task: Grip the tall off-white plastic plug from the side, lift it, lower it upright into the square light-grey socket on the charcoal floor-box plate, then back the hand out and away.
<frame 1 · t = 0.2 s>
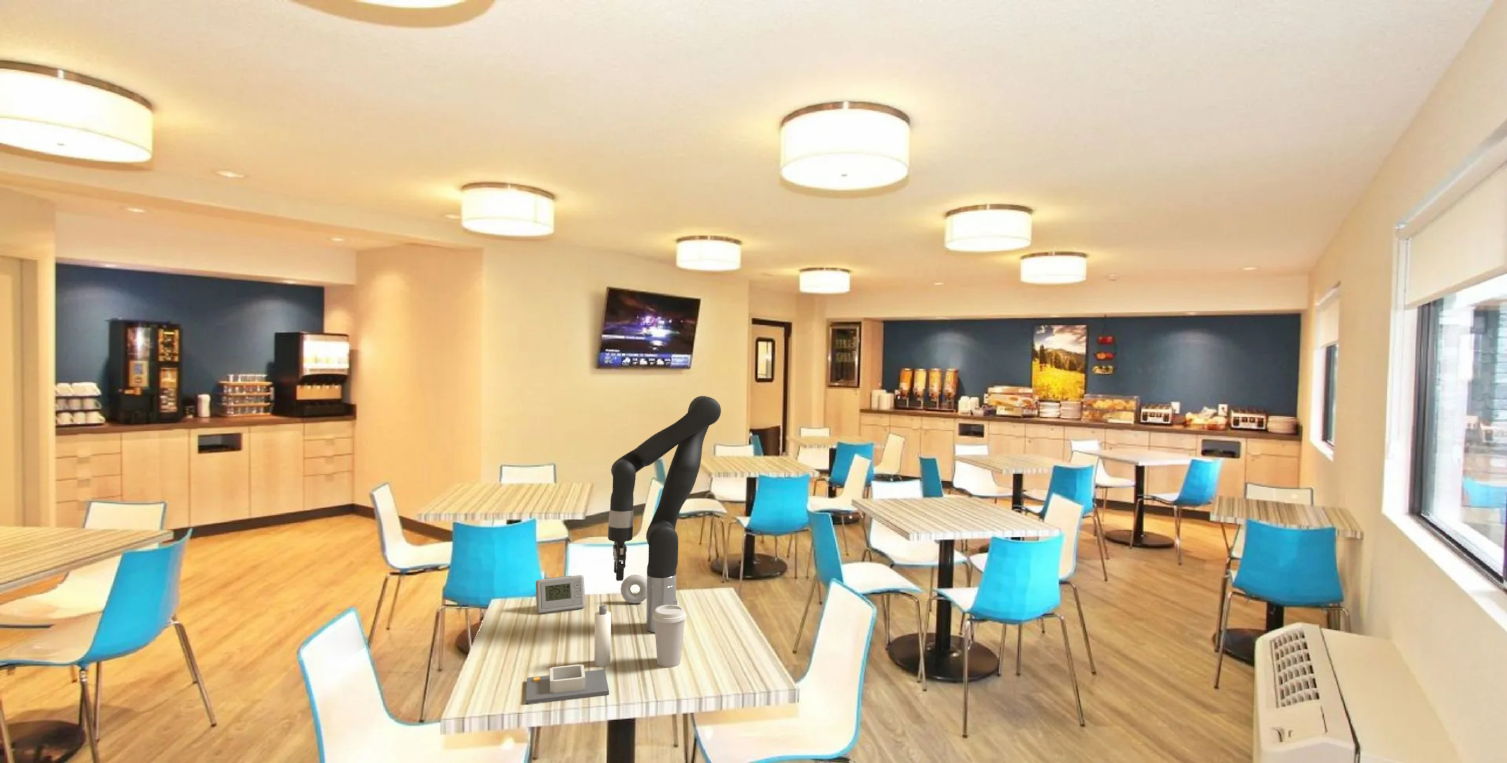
hand: (618, 576, 223), 18 cm above the table, tool pointing down, fingers open, 8 cm apart
donut: (635, 603, 251), on the table
digital thermostat: (560, 610, 244), on the table
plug: (602, 663, 201), on the table
floor socket: (567, 687, 186), on the table
coffee cup: (668, 662, 203), on the table
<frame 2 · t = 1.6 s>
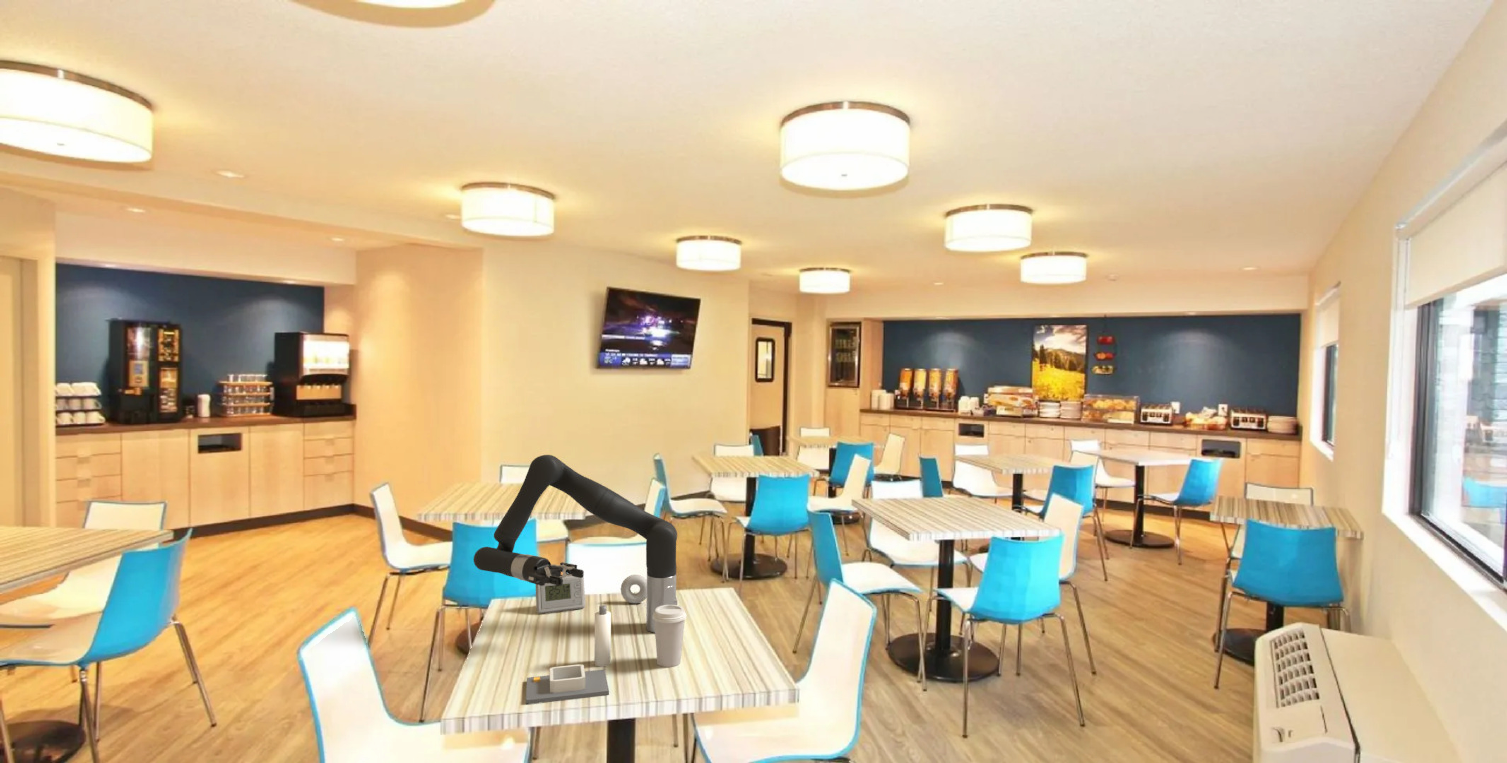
hand: (572, 577, 206), 22 cm above the table, tool horizontal, fingers open, 8 cm apart
nothing on the table moved.
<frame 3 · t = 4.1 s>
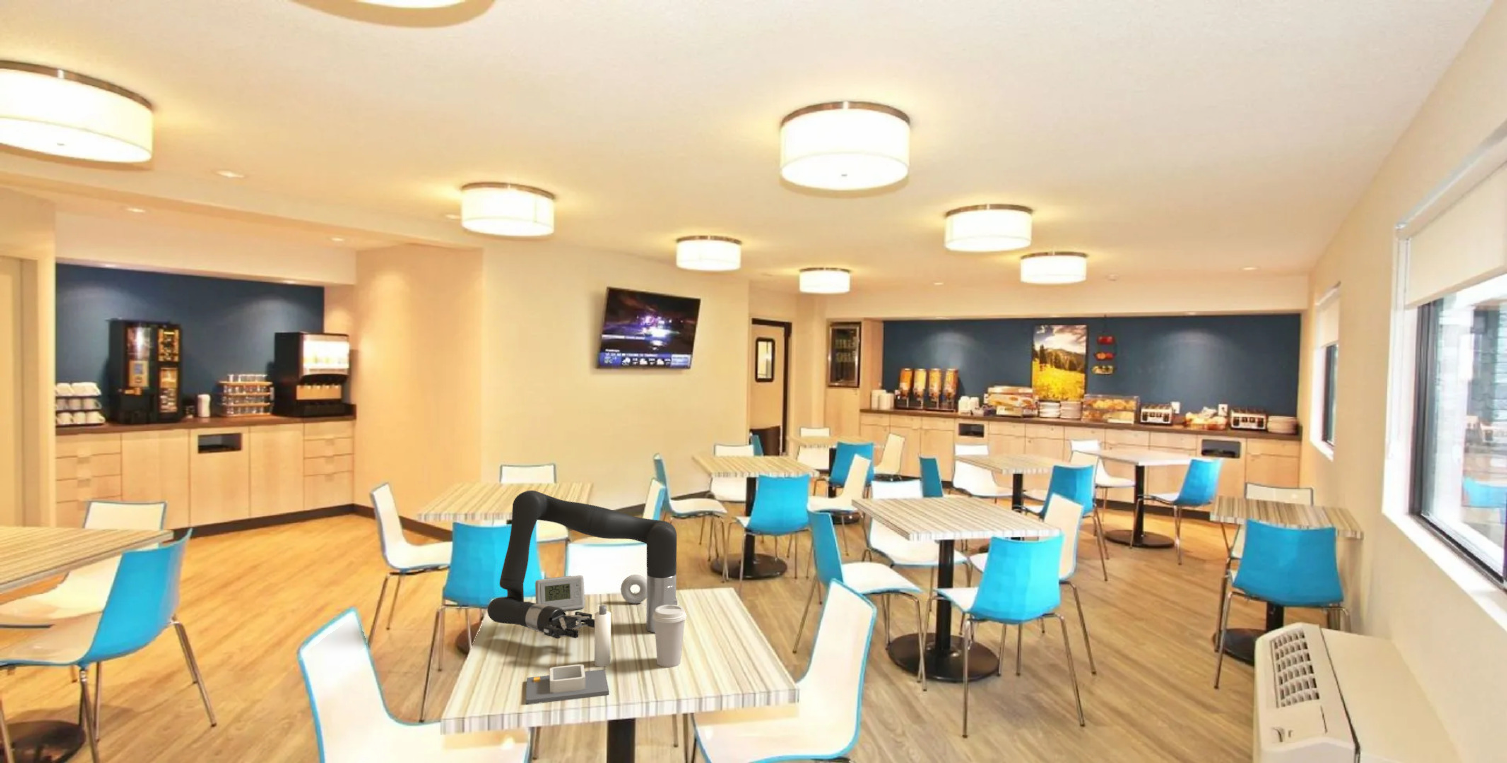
hand: (588, 629, 204), 9 cm above the table, tool horizontal, fingers open, 8 cm apart
nothing on the table moved.
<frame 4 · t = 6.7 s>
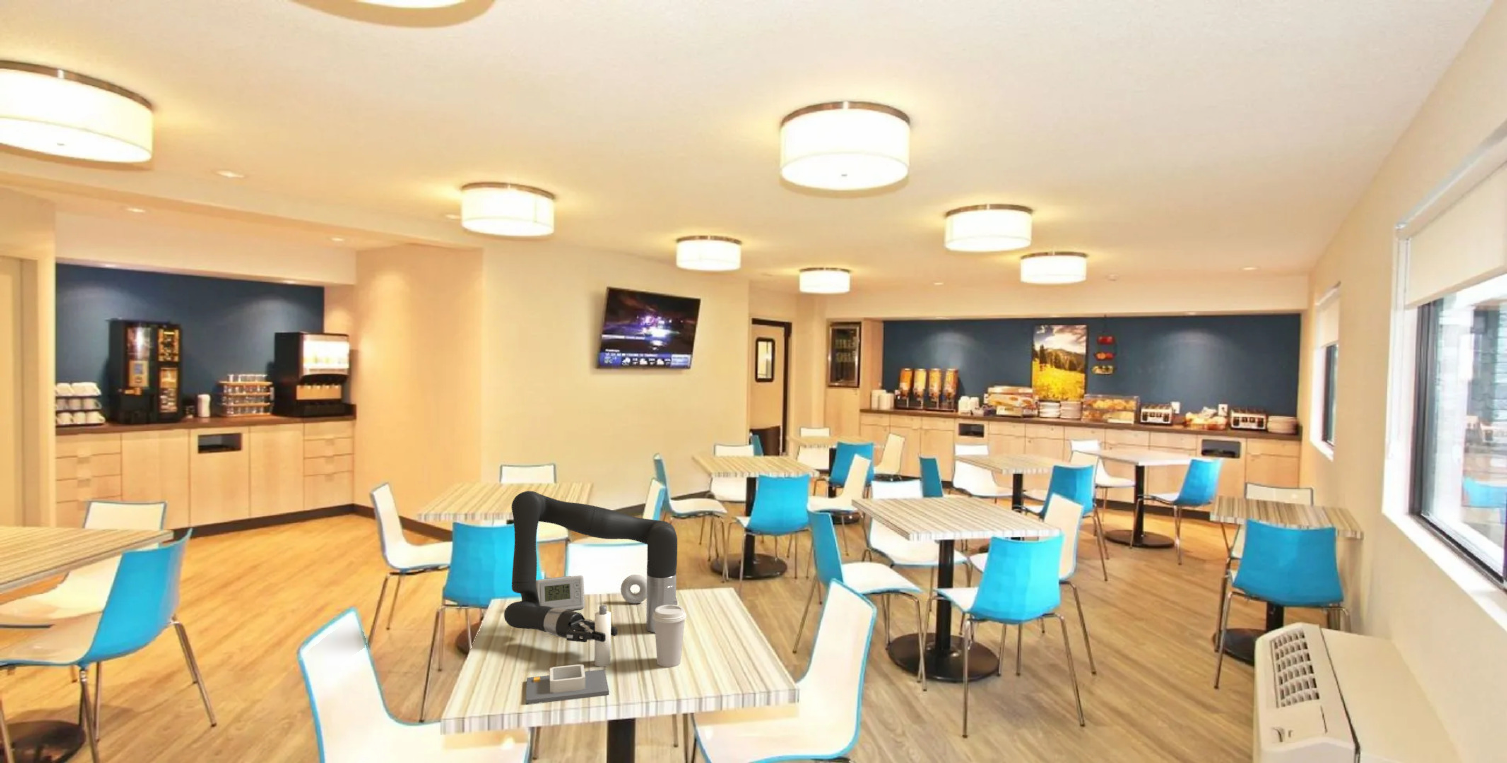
hand: (610, 634, 200), 9 cm above the table, tool horizontal, fingers closed on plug, 4 cm apart
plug: (602, 663, 202), on the table, touching gripper
everything else where it was.
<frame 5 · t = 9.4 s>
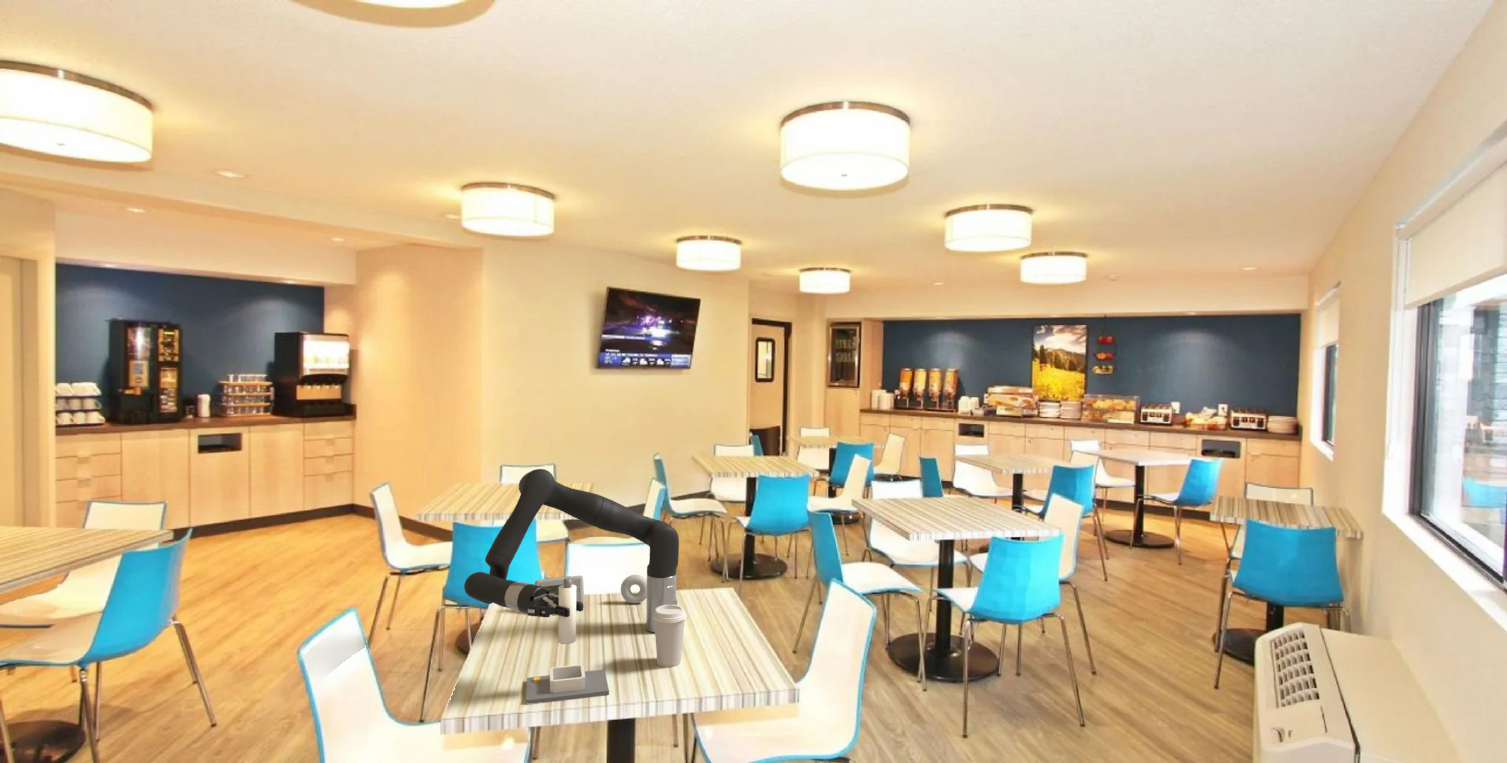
hand: (575, 609, 184), 21 cm above the table, tool horizontal, fingers closed on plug, 4 cm apart
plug: (566, 640, 186), point 12 cm above the table, touching gripper
everything else where it was.
when the fingers open (10 cm above the table, at t = 12.5 s): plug stays where it is, resting on floor socket.
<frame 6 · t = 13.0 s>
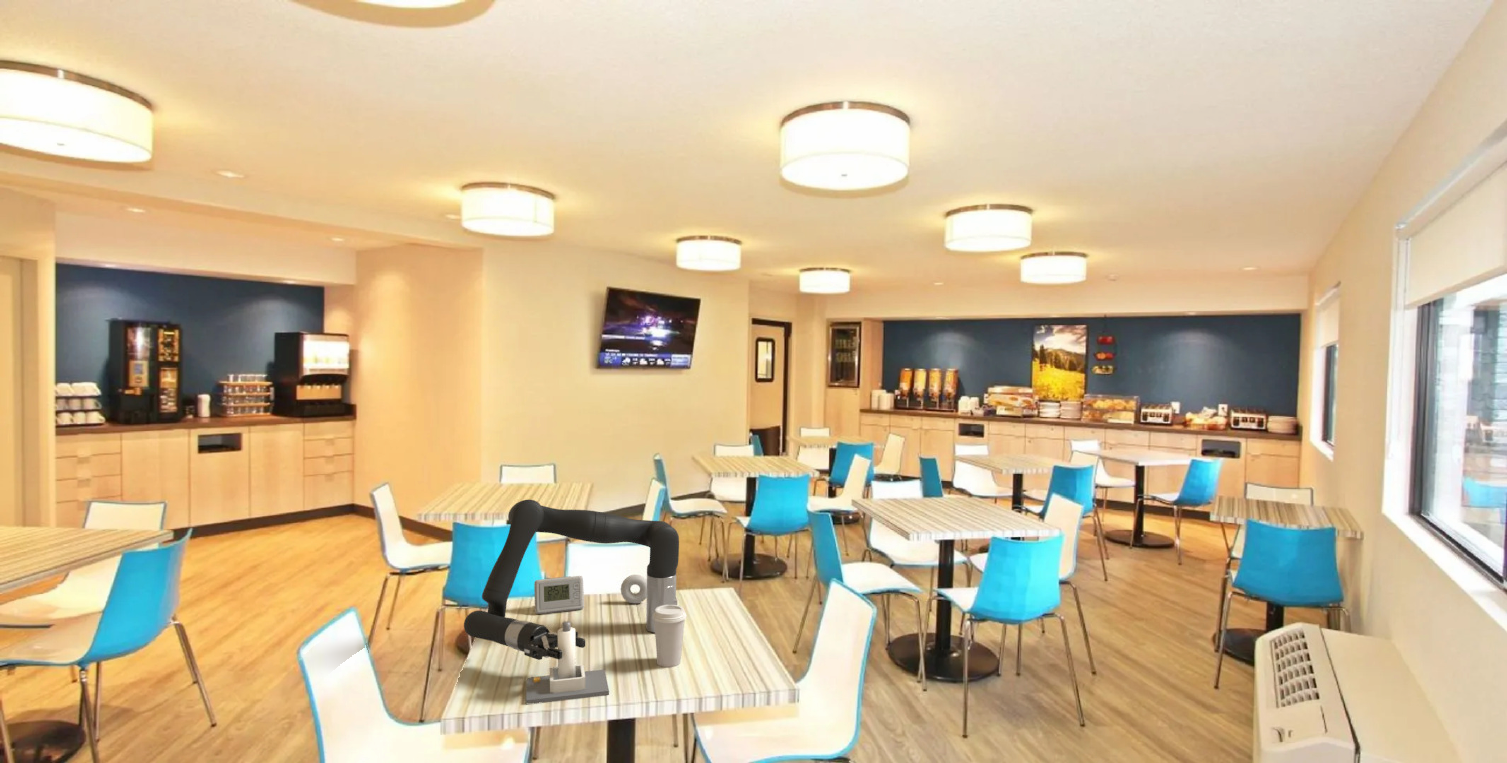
hand: (573, 649, 185), 11 cm above the table, tool horizontal, fingers open, 8 cm apart
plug: (566, 683, 186), point 1 cm above the table, touching floor socket
everything else where it was.
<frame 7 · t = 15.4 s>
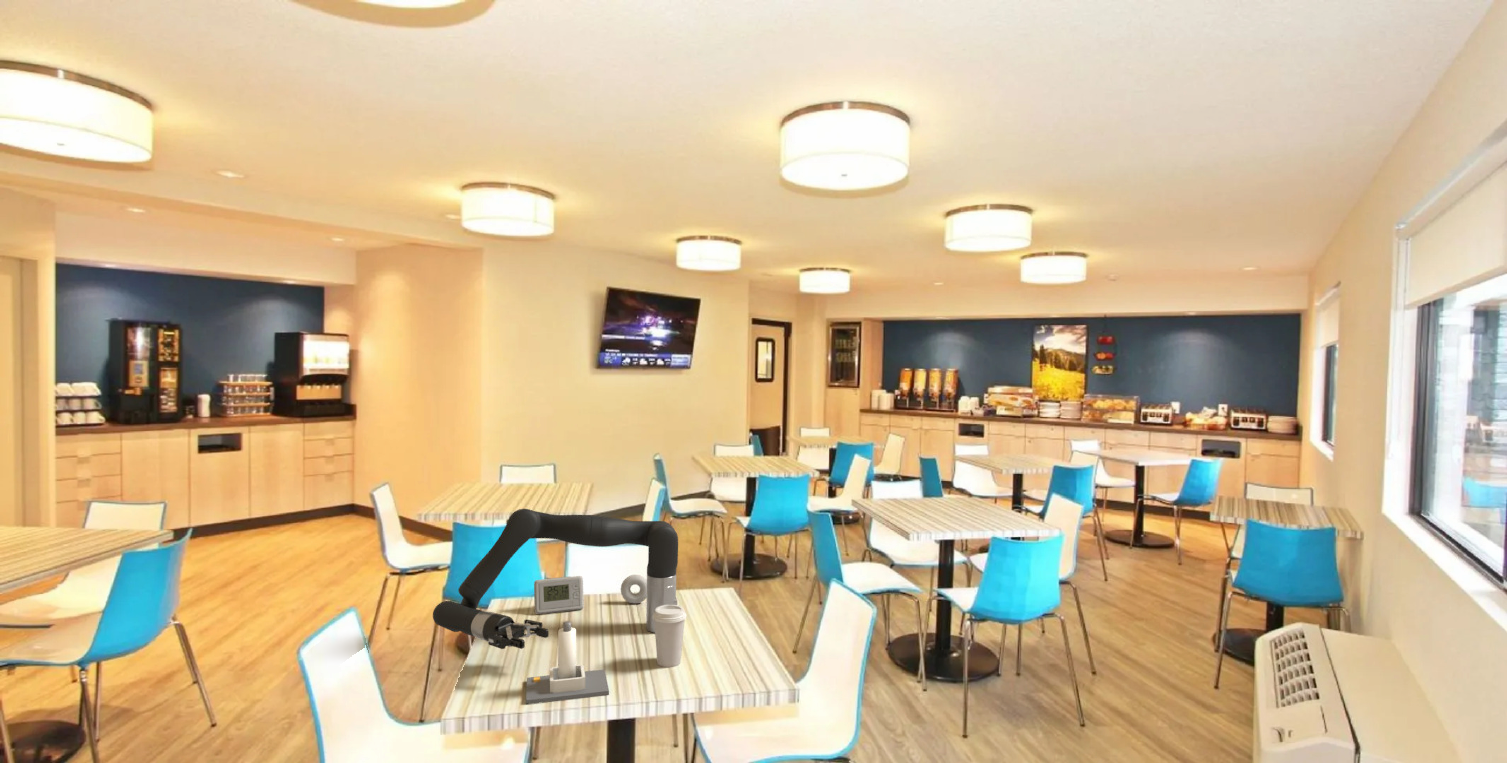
hand: (535, 638, 191), 11 cm above the table, tool horizontal, fingers open, 8 cm apart
nothing on the table moved.
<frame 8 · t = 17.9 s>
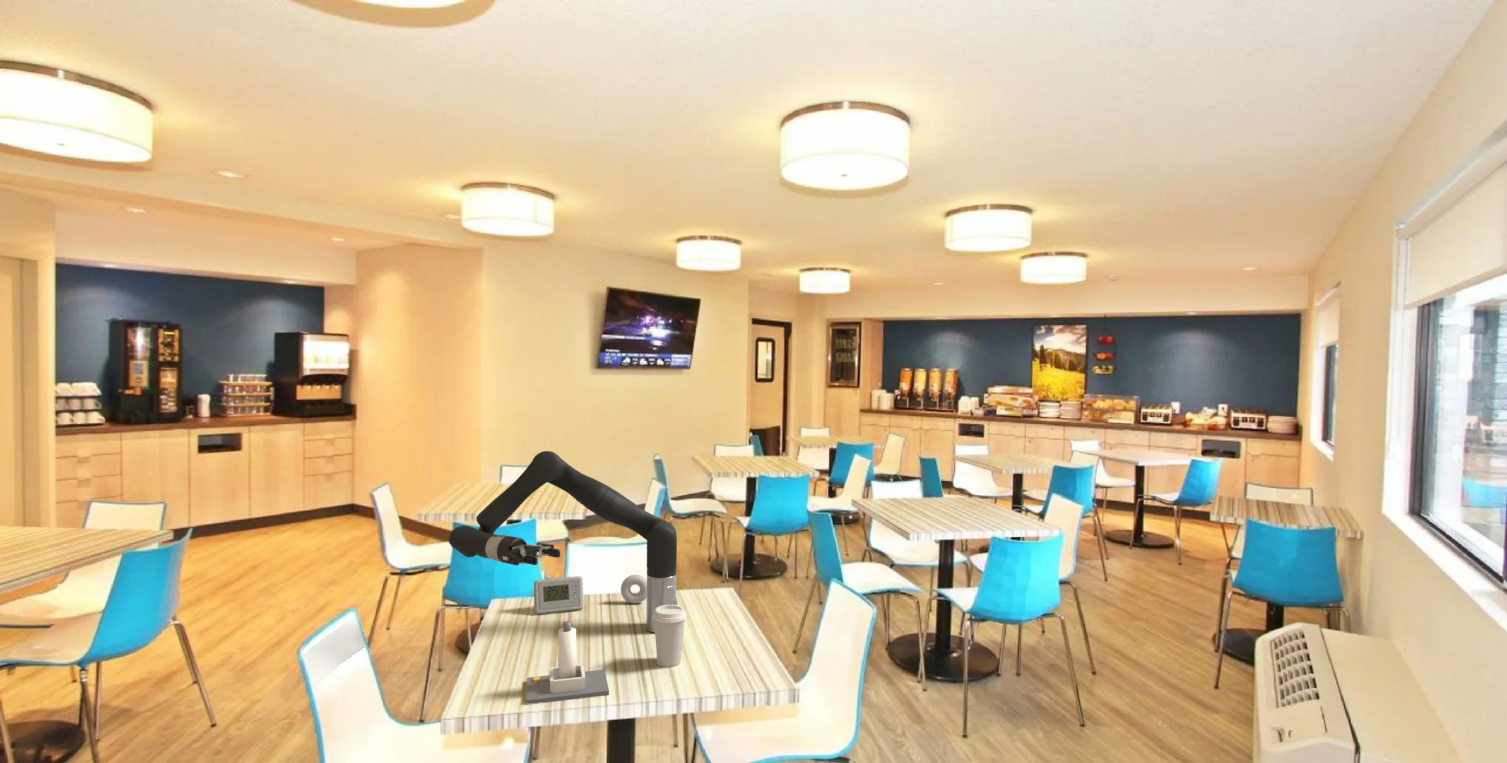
hand: (548, 557, 199), 30 cm above the table, tool horizontal, fingers open, 8 cm apart
at the end: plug 0.1 cm off-centre on the floor socket, point 1.0 cm above the floor socket's base; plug tilted 0°; the gripper is holding nothing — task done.
